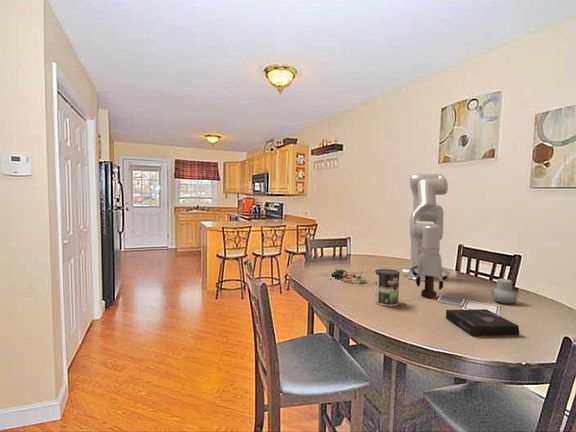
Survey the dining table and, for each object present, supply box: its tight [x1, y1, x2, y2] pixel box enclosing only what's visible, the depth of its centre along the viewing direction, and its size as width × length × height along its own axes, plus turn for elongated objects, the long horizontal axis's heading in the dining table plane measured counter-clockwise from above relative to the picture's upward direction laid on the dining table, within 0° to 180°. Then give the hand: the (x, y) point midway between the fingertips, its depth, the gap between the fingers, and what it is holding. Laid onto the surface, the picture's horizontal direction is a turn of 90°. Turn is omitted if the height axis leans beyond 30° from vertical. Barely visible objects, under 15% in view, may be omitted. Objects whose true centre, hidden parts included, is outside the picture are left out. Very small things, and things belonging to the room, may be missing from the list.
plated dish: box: [331, 268, 368, 285], centre depth 192 cm, size 35×28×7 cm
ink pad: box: [436, 294, 466, 308], centre depth 153 cm, size 10×10×1 cm
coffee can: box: [374, 268, 401, 307], centre depth 150 cm, size 10×10×14 cm
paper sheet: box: [461, 299, 501, 316], centre depth 144 cm, size 13×15×1 cm
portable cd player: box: [445, 309, 520, 337], centre depth 124 cm, size 16×17×4 cm
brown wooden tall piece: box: [421, 276, 437, 299], centre depth 159 cm, size 7×6×18 cm
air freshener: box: [491, 278, 518, 305], centre depth 153 cm, size 11×8×10 cm
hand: (429, 287), depth 159 cm, fingers open, 9 cm apart
